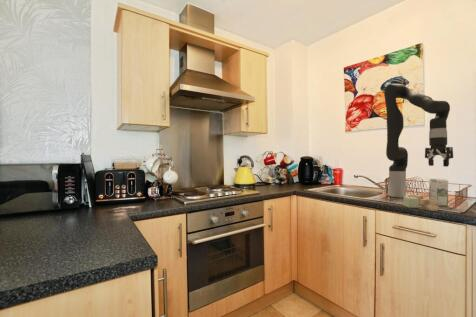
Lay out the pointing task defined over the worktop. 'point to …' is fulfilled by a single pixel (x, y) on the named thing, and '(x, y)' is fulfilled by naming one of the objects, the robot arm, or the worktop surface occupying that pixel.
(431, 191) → the syrup box
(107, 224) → the worktop surface
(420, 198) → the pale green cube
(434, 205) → the beech cube
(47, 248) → the worktop surface
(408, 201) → the sage cube
